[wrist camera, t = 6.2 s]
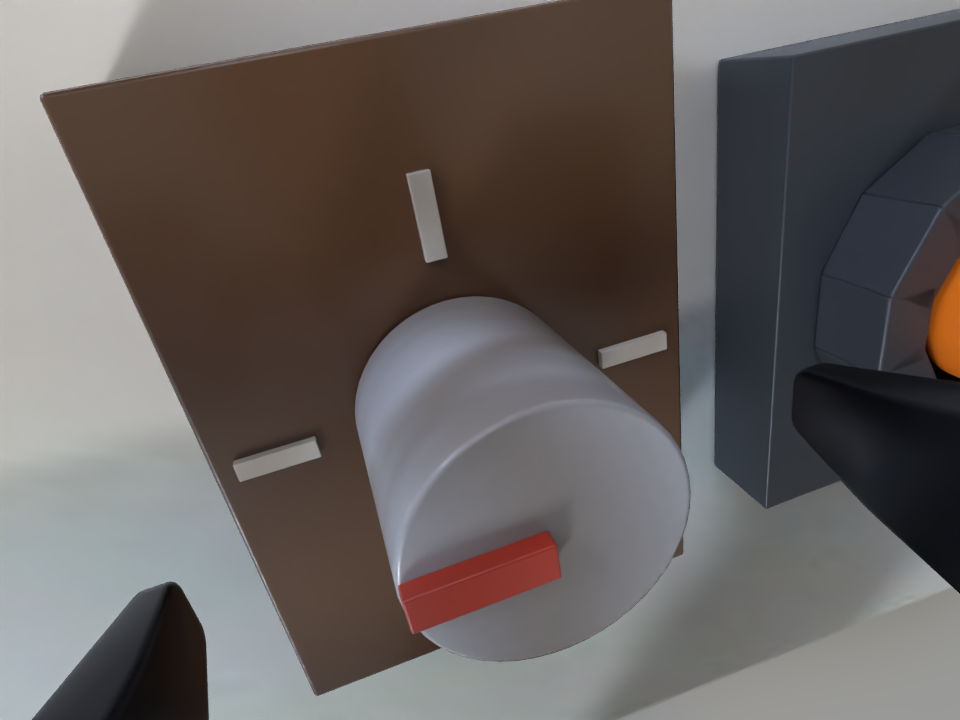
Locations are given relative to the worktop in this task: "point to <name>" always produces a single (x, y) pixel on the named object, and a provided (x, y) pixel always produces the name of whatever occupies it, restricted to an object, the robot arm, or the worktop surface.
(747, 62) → the housing
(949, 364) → the button
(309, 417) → the panel
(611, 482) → the knob
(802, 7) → the worktop surface
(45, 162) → the worktop surface
